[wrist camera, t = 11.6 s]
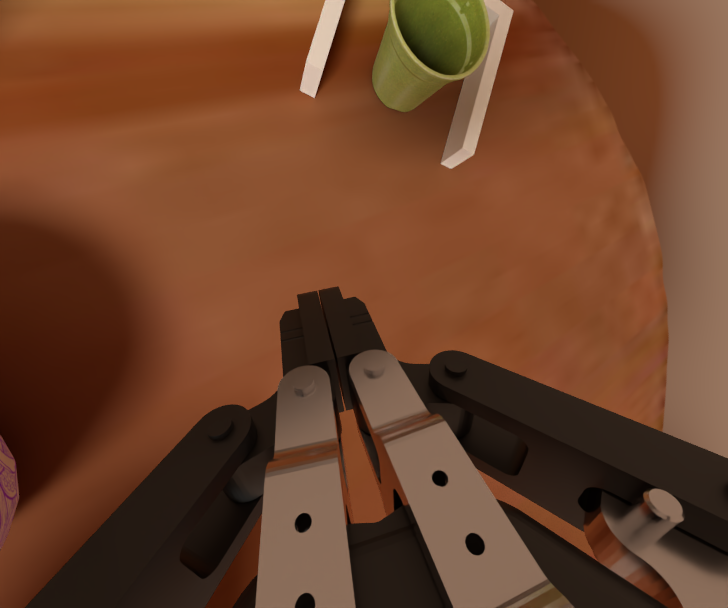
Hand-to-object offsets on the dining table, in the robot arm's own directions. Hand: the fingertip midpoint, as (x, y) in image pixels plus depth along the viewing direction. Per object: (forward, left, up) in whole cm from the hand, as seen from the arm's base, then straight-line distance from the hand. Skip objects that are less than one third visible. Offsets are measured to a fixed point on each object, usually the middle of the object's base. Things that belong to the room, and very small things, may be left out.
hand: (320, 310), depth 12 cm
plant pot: (+5, +26, -20) cm, 33 cm away
